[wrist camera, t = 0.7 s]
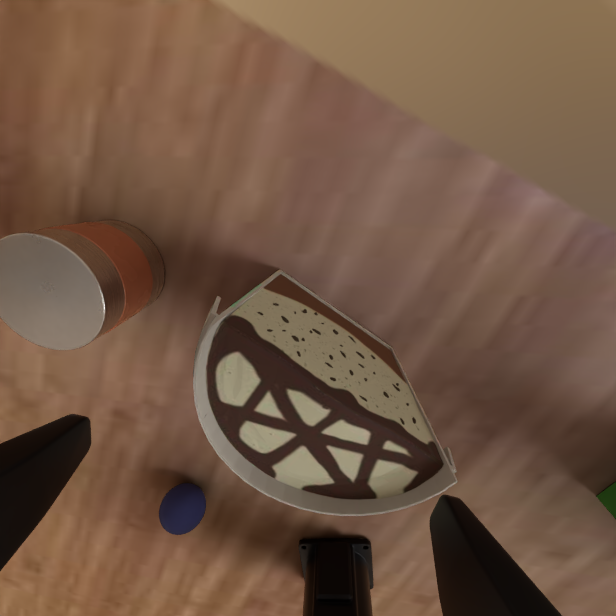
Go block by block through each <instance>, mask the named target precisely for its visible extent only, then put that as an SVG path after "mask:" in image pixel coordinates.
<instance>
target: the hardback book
mask: <svg viewBox="0 0 616 616" xmlns="http://www.w3.org/2000/svg"><path fill="white" fill-rule="evenodd" d="M596 497H597V498H598V499H599V500H600V501H601V502H602V504H603V505H604V506H605V507H606V508H607V510H608V511H609V512H610V513H611V514H612V515H613V517H614V518H615V519H616V482H615V483H614V484H612V485H611V486H610V487H608V488H607V489H605V490H604V491H603V492H601V493H600V494H599V495H597V496H596Z"/></svg>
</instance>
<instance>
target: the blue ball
mask: <svg viewBox="0 0 616 616" xmlns="http://www.w3.org/2000/svg"><path fill="white" fill-rule="evenodd" d="M205 509H206V499H205V495H204V493H203V491H202V490H201V489H200V488H199V487H198V486H196V485H194V484H191V483H183V484H180V485H177V486H175V487H174V488H172V489H171V490H170V491H169V492H168V493H167V494H166V495H165V497H164V498H163V500H162V502H161V505H160V510H159V518H160V522H161V525H162V526H163V528H164V529H165V530H166V531H167V532H169V533H171V534H175V535H181V534H185V533H188V532H190V531H191V530H193V529H194V528H195V527H196V526H197V525H198V524H199V523H200V521H201V520H202V518H203V516H204V513H205Z"/></svg>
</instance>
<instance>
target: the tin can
mask: <svg viewBox="0 0 616 616" xmlns="http://www.w3.org/2000/svg"><path fill="white" fill-rule="evenodd" d="M164 279H165V271H164V265H163V261H162V258H161V256H160V254H159V251H158V250H157V248H156V247H155V245H154V244H153V242H152V241H151V240H150V239H149V238H148V237H147V236H146V235H145V234H144V233H143V232H141V231H140V230H138V229H137V228H135V227H133V226H131V225H129V224H127V223H124V222H120V221H115V220H103V221H97V222H83V223H76V224H69V225H62V226H55V227H48V228H43V229H39V230H35V231H28V232H22V233H16V234H11V235H8V236H6V237H4V238H2V239H0V317H1V319H2V320H3V321H4V322H5V323H6V324H7V325H8V326H9V327H10V328H11V329H12V330H14V331H15V332H16V333H17V334H19V335H20V336H22V337H23V338H25V339H26V340H28V341H30V342H32V343H34V344H36V345H39V346H42V347H45V348H49V349H54V350H72V349H77V348H81V347H83V346H85V345H87V344H89V343H90V342H92V341H93V340H95V339H97V338H98V337H100V336H101V335H103V334H105V333H107V332H109V331H111V330H112V329H114V328H115V327H117V326H118V325H120V324H121V323H123V322H125V321H126V320H128V319H129V318H131V317H132V316H134V315H135V314H137V313H138V312H140V311H141V310H142V309H143V308H145V307H146V306H148V305H149V304H151V303H152V302H153V301H154V300H156V298H157V297H158V296H159V294H160V293H161V291H162V288H163V285H164Z"/></svg>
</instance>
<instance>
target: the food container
mask: <svg viewBox="0 0 616 616" xmlns="http://www.w3.org/2000/svg"><path fill="white" fill-rule="evenodd" d="M220 300H221V297H219V296H217V297H216V300H215V302H214V304H213V306H212V308H211V310H210V312H209V314H208V316H207V319H206V321H205V324H204V326H203V329H202V331H201V335H200V338H199V341H198V345H197V348H196V351H195V359H194V369H193V377H194V380H193V388H194V400H195V406H196V410H197V413H198V417H199V421H200V423H201V426H202V428H203V430H204V432H205V434H206V437H207V439H208V441H209V442H210V444H211V445H212V447H213V448H214V450H215V451H216V453H217V454H218V456H219V457H220V458H221V459H222V460H223V461H224V462H225V463H226V465H227V466H228V467H229V468H230V469H231V470H232V471H233V472H234V473H236V474H237V475H238V476H239V477H240V478H241V479H243V480H244V481H245V482H246V483H248V484H249V485H251V486H252V487H254V488H255V489H257V490H258V491H260V492H262V493H263V494H265V495H267V496H269V497H271V498H273V499H275V500H278V501H280V502H282V503H285V504H288V505H290V506H293V507H296V508H299V509H303V510H307V511H311V512H316V513H320V514H329V515H338V516H366V515H375V514H384V513H388V512H393V511H397V510H402V509H405V508H408V507H411V506H413V505H416V504H419V503H422V502H424V501H426V500H428V499H430V498H432V497H434V496H436V495H438V494H440V493H442V492H444V491H445V490H447V489H448V488H450V487H451V486H453V485H454V484H456V483H457V482H458V481H457V479H456V476H455V474H454V473H455V472H457V471H456V468H455V464H454V461H453V458H452V454H451V451H450V449H449V448H448V447H446V448H445V449H442V447H441V445H440V443H439V441H438V439H437V437H436V434H435V432H434V430H433V428H432V426H431V424H430V422H429V420H428V418H427V416H426V414H425V412H424V410H423V408H422V406H421V404H420V402H419V400H418V398H417V396H416V394H415V392H414V390H413V388H412V386H411V384H410V381H409V379H408V377H407V375H406V373H405V371H404V369H403V367H402V365H401V363H400V361H399V359H398V357H397V355H396V353H395V351H394V349H393V348H392V347H391V346H389V345H388V344H386V343H385V342H384V341H382V340H381V339H379V338H378V337H376V336H375V335H374V334H372V333H371V332H369V331H368V330H366V329H365V328H363V327H362V326H361V325H359V324H358V323H356V322H355V321H353V320H352V319H351V318H349V317H348V316H346V315H345V314H343V313H342V312H341V311H339V310H338V309H336V308H335V307H333V306H332V305H330V304H329V303H328V302H326V301H325V300H323V299H322V298H320V297H319V296H318V295H316V294H315V293H313V292H312V291H310V290H309V289H308V288H306V287H305V286H303V285H302V284H300V283H299V282H298V281H296V280H295V279H293V278H292V277H290V276H289V275H287V274H286V273H285V272H283V271H282V270H280V269H279V270H278V271H277V272H275V273H274V274H273V275H271V276H270V277H269V278H267V279H266V280H265V281H263V282H262V283H261V284H259V285H258V286H257V287H255V288H254V289H253V290H251V291H250V292H249V293H247V294H246V295H245V296H243V297H242V298H241V299H239V300H238V301H237V302H235V303H234V304H233V305H231V306H230V307H229V308H227V309H226V310H225V311H224V312H222V313H221V314H220V315H218V314H217V313H216V312H217V309H218V306H219V303H220Z"/></svg>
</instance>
